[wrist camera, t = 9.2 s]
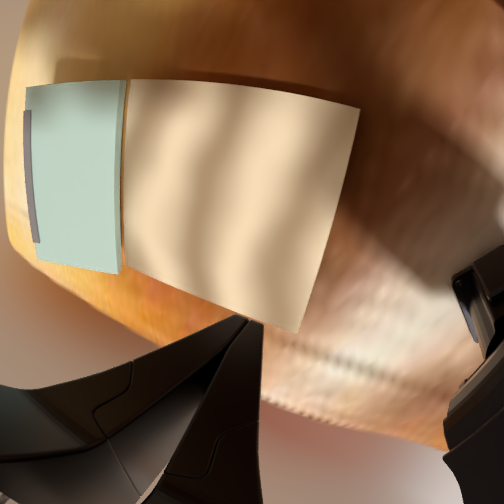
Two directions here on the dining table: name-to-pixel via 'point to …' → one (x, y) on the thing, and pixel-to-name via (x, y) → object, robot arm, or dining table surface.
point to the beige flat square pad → (233, 191)
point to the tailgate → (75, 172)
